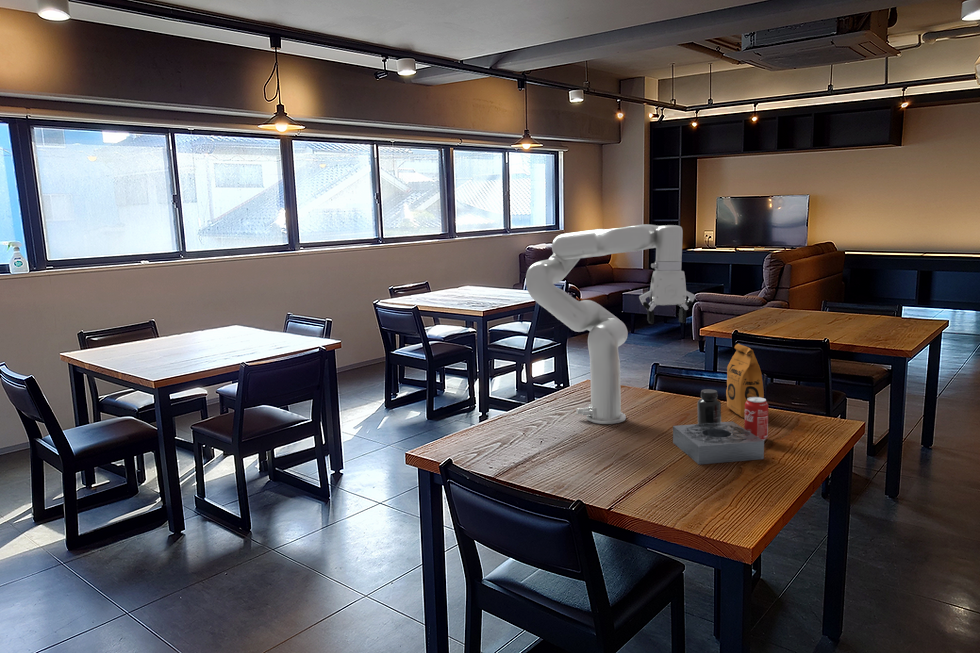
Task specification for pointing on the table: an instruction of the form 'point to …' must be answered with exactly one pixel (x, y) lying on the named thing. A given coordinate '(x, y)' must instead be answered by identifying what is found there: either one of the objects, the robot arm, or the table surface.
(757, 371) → the coffee package
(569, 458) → the table surface
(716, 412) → the supplement bottle
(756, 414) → the beverage can
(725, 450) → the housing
